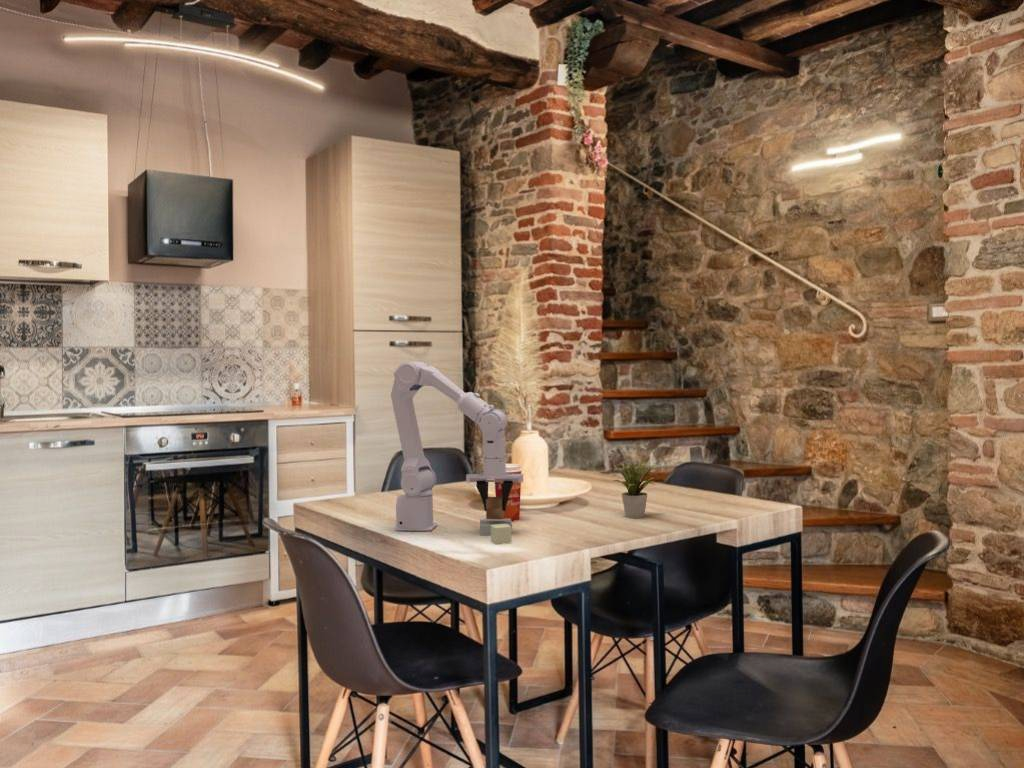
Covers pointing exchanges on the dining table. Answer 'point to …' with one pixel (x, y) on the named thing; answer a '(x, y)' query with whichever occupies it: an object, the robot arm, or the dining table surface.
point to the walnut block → (494, 508)
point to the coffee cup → (511, 493)
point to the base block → (486, 524)
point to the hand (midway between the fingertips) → (495, 510)
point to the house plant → (634, 489)
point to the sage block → (500, 533)
